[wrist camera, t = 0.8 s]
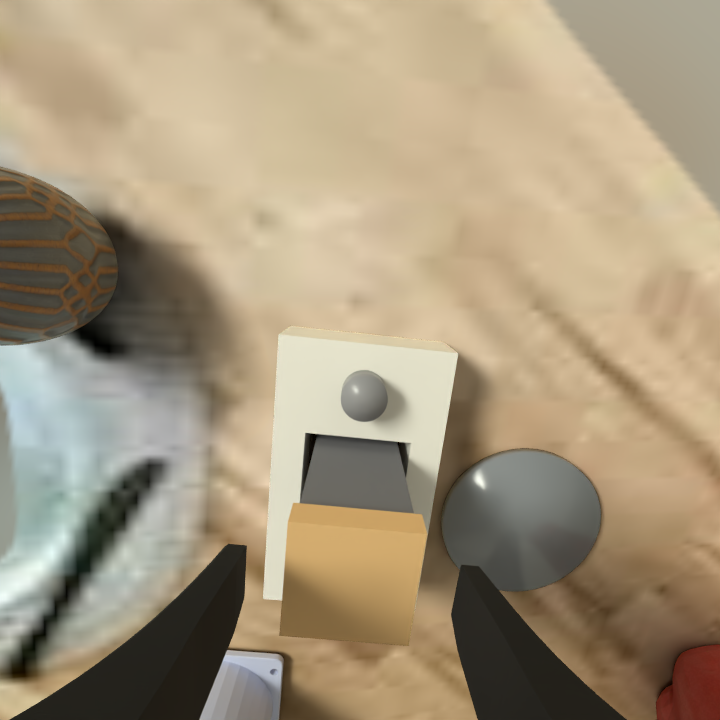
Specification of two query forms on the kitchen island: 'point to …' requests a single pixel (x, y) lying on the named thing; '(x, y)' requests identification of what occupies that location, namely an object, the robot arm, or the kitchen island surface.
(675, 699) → the vegetable
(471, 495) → the coaster
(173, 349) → the kitchen island surface
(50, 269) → the vase
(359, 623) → the plug
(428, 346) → the switch plate
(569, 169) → the kitchen island surface
